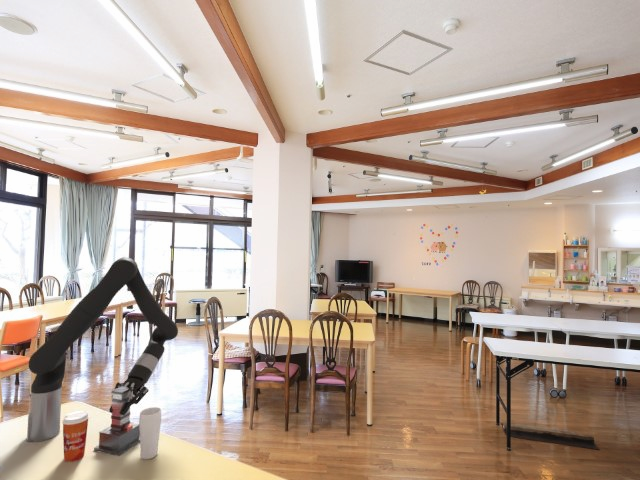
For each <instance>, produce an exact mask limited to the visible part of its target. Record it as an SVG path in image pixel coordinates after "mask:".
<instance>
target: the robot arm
mask: <svg viewBox="0 0 640 480" xmlns="http://www.w3.org/2000/svg"><path fill="white" fill-rule="evenodd" d="M124 286H126V287H127V288H128V289H129V291H130V293H131V295H132V296H133V298H134V301H135V303H136V306H137V307H138V310H139V311H140V312H141V314H142V315H143V317H144V319H145V320H146V322H147V323H148V324H150V325H154V326H156V327H155V328H154V330H153V331H152V332H151V334H150V338H149V340H148V344H147V345H146V347H145V349H144V350H143V352H142V353H141V355H140V356H139V357H138V359H137V360H136V362H135V363H134V364H133V366H132V368H131V370H130V371H129V373H128V374H127V379H126V380H125V381H123V382H119V381H117V382H116V384H115V386H114V389H117V388H119V387H121V386H124V387H131V388H132V390H131V392H130V394H129V398H128V399H127V403H125V404H124V406H123V407H122V409H121V411H120V414H121V415H125V414H126V413H127V411H128V410H129V408H130V409H131V407H132V406H133V405H137V404H139V403H140V401H141V400H142V399H143V398H144V397H145V396H146V395H147V393H148V392H149V389H148V387H146V385H147V384H148V381H149V380H150V378H151V376H152V375H153V373H154V372H155V369H156V368H157V365H158V363H159V361H160V359H161V358H162V356H164V355H163V354H164V353H165V350H166V349H165V347H164V344H165V343H166V342H168V341H172V340H175V339H176V338H177V337H178V335H179V334H178V333H179V328H178V326H177V324H176V323H175V322H174V320H172V319H171V317H170V316H169V315H167V314H166V313H165V312H164V309H162V307H161V306H160V304H159V302H158V301H157V300H156V298H155V296H154V295H153V293H151V291H150V289H149V288H148V286H147V284H146V283H145V280H144V279H143V277H142V274H141V271H140V269H139V267H138V264H137V262H136V261H135V260H134V259H132V257H131V258H130V257H125V256H123V257H121V258H118V259H117V260H115V261H114V262H113V263H112V264H111V266H110V267H109V269H108V271H107V272H106V273H105V274H104V276H103V277H102V279H101V280H100V281H99V283H98V284H97V285H96V286H95V287H94V288H93V289H92V290H90V291H89V292H88V293H87V294H86V295H85V296H84V297H83V298H82V299H81V300H80V301H79V302H78V303H77V304H76V305H75V306H74V308H73V309H72V310H71V311H70V313H69V314H68V315H67V316H66V317H65V319H63V322H61V323H60V325H59V326H58V327H57V329H56V331H54V333H53V334H52V335H51V336H50V337H49V338H48V339H47V340H46V341H45V342H44V343H43V344H42V345H41V346H40V347H39V348H38V349H37V350H36V351H35V352H33V353H32V355H31V356H30V357H29V360H28V369H29V370H30V372H31V373H33V374H35V377H34V380H33V382H32V383H31V386H30V402H29V403H30V405H29V406H30V407H29V409H30V410H29V414H28V416H27V435H26V436H27V437H26V442H27V441H28V442H43V441H46V440H49V439H52V438H54V437H56V436H57V435H59V433H60V431H61V413H62V412H61V410H62V390H63V389H62V388H63V381H64V378H65V374H66V360H67V355H66V352H67V351H68V349H69V348H70V347H71V346H72V345H73V344H74V343H75V342H76V341H77V340H78V339H80V338H81V337H82V336H83V335H84V334H86V333H87V332H88V331H89V330H90V328H92V327H93V325H94V324H95V323H97V321H98V320H99V319H100V317H101V316H103V314H104V313H105V311H106V310H107V309H108V306H109V305H110V304H111V302H112V301H113V299H114V297H115V296H116V295H117V294H118V292H119V291H121V290H122V288H123V287H124ZM145 384H146V385H145ZM112 398H113V394H112V395H111V399H112ZM109 413H111V414H112V404H111V405H110V407H109Z"/></svg>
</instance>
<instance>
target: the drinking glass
mask: <svg viewBox="0 0 640 480" xmlns="http://www.w3.org/2000/svg"><path fill="white" fill-rule="evenodd" d="M138 422H139V423H138V424H139V431H140V443H139V445H140V454H139V456H140V458H141V459H142V460H150V459H154V458H155V457H157V455H158V452H159V450H158V449H159V448H158V447H159V440H160V433H161V424H162V409H161V408H160V407H156V406H155V407H153V406H151V407H148V408H144V409H143V410H141V411H140V412H139V420H138Z"/></svg>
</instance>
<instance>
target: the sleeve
mask: <svg viewBox="0 0 640 480" xmlns="http://www.w3.org/2000/svg"><path fill="white" fill-rule="evenodd" d="M98 436H99V439H98V444H97V445H96V446H94V447H93V451H94V452H98V453H99V452H100V453H103V454H109V455H112V456H117V457H120V456H122V455H123V454H125V453H126V452H128V451H129V450H130V449H133V448H134V447H135V446H137V445H138V444H140V431H139V423H135V422H131V421H130V424H129V425H127V426H126V427H124V431H122V432H121V433H119V432H114V431H111V425H109V426H108V427H106V428H104V429H103V430H101V431H99V435H98Z"/></svg>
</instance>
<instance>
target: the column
mask: <svg viewBox="0 0 640 480" xmlns="http://www.w3.org/2000/svg"><path fill="white" fill-rule="evenodd" d="M131 390H132V388H131V387H124V386H121V387H119V388H117V389H115V388H114V389H112V390H111V394H112V395H113V398H112V397H111V402H112V403H111V405H112V413H111V415H110V419H111V424H110V426H111V431H114V432H119V433H121V432H122V431H124V427H126V426H127V425H129V424H130V422H131V419H130V416H131V407H130V408H129V410H128V411H127V413H126V414H125V415H121V414H120V411H121V409H122V407H123V406H124V404H125V403H127V399H128V398H129V394H130V392H131Z"/></svg>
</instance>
